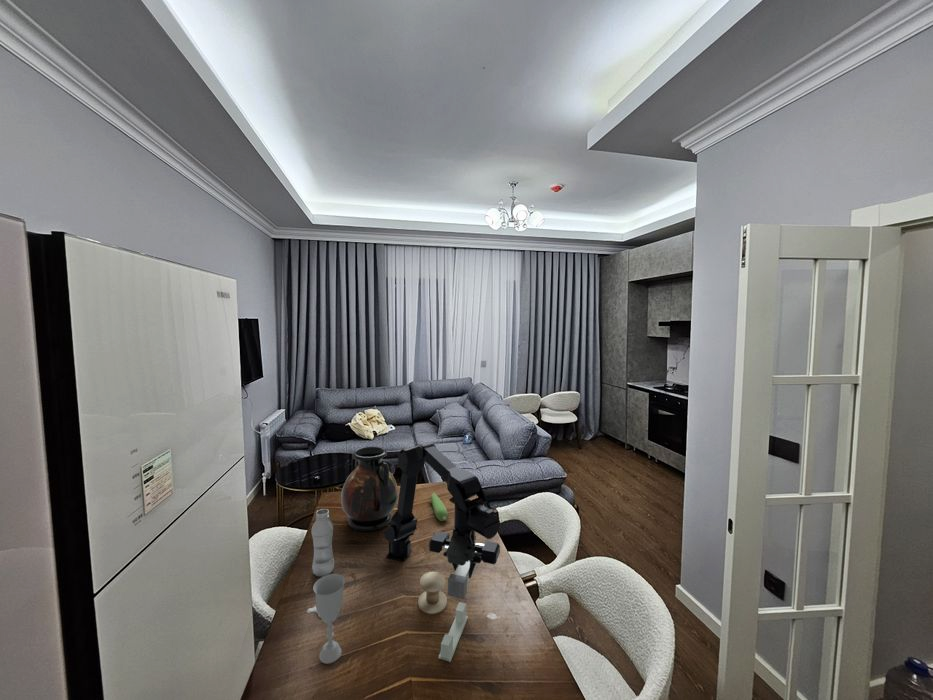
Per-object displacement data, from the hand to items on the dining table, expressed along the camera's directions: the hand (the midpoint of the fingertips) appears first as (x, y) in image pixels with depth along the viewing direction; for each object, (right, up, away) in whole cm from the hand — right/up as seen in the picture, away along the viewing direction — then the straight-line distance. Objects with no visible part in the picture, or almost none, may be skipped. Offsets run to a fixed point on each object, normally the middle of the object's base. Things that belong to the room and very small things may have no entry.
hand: (463, 576), depth 107 cm
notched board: (-2, -11, -8) cm, 14 cm away
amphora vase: (-37, -5, +45) cm, 59 cm away
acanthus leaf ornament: (-39, -10, +1) cm, 40 cm away
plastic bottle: (-44, -8, +15) cm, 47 cm away
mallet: (0, -1, 0) cm, 1 cm away
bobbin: (-9, -10, +4) cm, 14 cm away
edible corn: (-11, -5, +54) cm, 56 cm away
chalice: (-32, -11, -13) cm, 36 cm away
